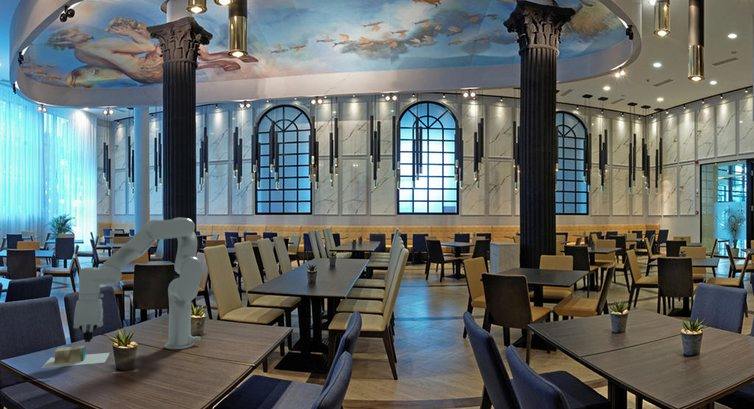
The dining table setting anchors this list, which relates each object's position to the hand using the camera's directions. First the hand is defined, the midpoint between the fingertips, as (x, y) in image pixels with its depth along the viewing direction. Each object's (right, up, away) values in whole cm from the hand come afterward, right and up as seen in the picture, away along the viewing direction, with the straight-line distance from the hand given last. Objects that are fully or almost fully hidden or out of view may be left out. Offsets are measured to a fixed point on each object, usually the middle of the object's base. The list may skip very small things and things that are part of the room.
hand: (88, 341), depth 200 cm
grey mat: (-4, -8, -1) cm, 9 cm away
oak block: (-1, -5, 0) cm, 5 cm away
